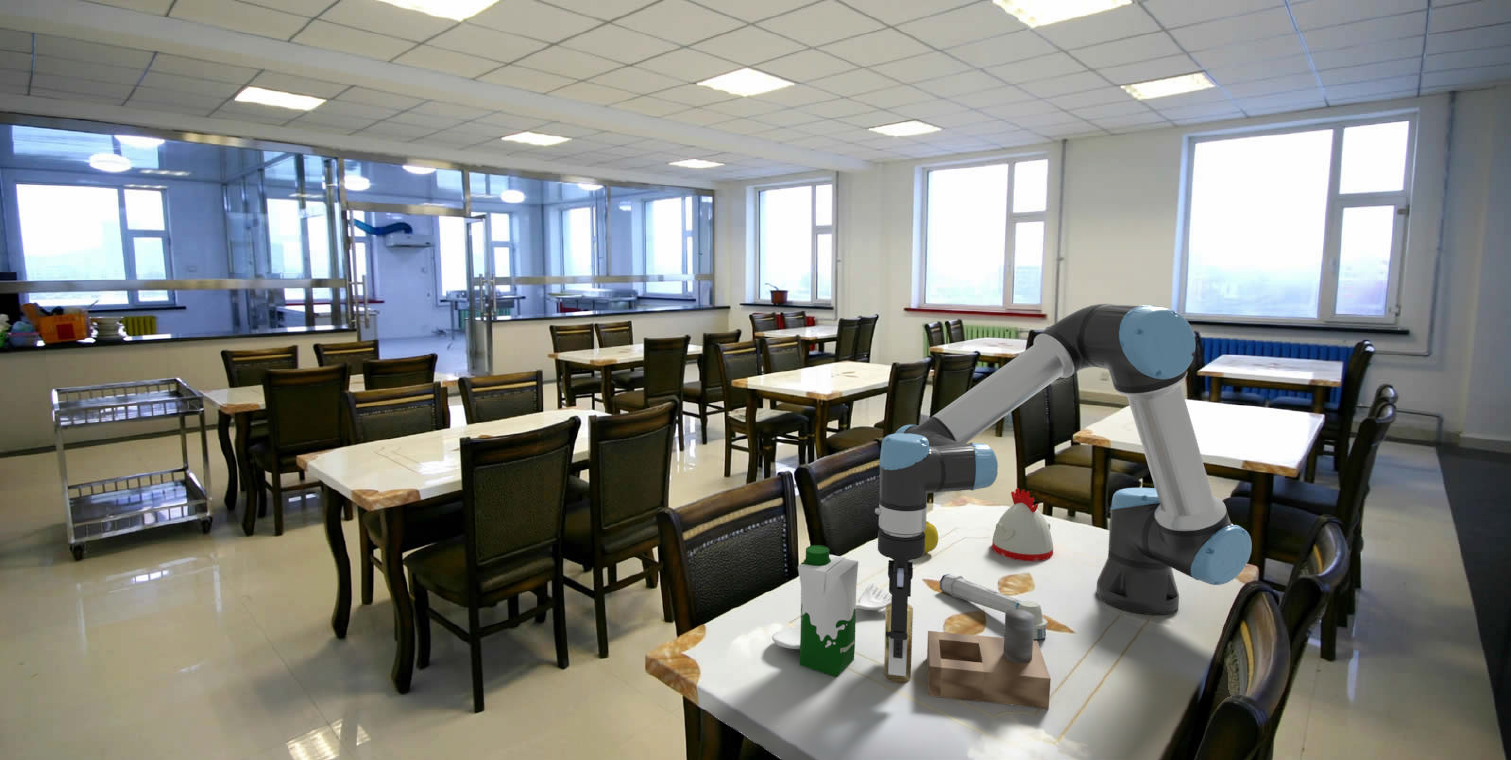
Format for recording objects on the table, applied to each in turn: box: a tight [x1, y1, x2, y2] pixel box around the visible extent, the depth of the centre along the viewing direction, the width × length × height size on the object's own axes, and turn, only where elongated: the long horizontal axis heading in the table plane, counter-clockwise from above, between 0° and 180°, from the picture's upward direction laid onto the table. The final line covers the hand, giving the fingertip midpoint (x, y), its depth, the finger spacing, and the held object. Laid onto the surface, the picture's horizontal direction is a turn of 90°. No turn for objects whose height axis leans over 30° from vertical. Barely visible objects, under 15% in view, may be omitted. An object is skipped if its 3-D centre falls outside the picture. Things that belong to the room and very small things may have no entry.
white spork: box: [771, 582, 892, 650], centre depth 140 cm, size 9×32×4 cm, turn 133°
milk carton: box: [797, 544, 859, 678], centre depth 126 cm, size 9×9×20 cm
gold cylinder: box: [883, 603, 914, 684], centre depth 123 cm, size 4×4×12 cm
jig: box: [926, 609, 1052, 710], centre depth 121 cm, size 18×12×12 cm, turn 79°
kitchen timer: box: [991, 487, 1054, 562], centre depth 179 cm, size 14×14×15 cm
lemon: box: [923, 520, 939, 555], centre depth 177 cm, size 6×6×8 cm
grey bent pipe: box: [939, 573, 1049, 640], centre depth 146 cm, size 5×7×25 cm
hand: (897, 652), depth 123 cm, fingers open, 13 cm apart
